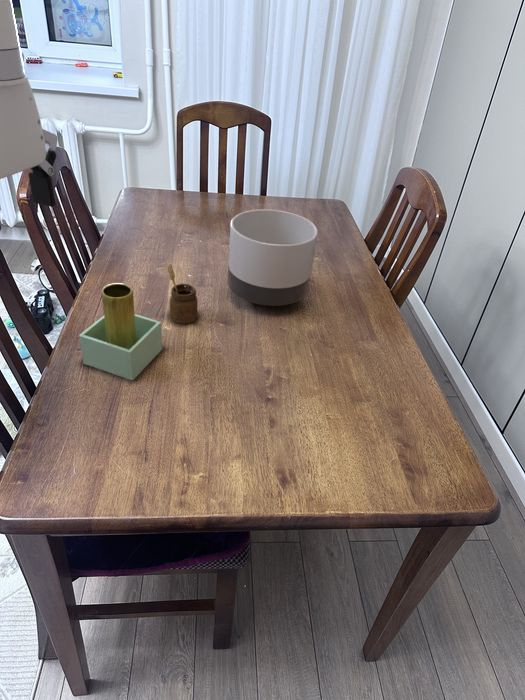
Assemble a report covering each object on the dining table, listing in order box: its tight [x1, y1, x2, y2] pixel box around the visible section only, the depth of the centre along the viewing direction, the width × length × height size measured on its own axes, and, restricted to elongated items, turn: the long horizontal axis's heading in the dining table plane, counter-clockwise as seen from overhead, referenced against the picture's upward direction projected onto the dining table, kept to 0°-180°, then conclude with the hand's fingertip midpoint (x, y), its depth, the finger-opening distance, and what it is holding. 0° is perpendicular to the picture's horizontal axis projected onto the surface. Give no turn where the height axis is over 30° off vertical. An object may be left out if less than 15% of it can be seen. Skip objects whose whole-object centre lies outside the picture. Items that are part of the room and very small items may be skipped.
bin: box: [78, 313, 163, 381], centre depth 92 cm, size 11×11×7 cm
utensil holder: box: [167, 263, 198, 325], centre depth 103 cm, size 6×6×12 cm
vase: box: [101, 282, 138, 350], centre depth 90 cm, size 6×6×14 cm
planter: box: [226, 208, 319, 307], centre depth 112 cm, size 19×19×18 cm
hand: (18, 216), depth 63 cm, fingers open, 9 cm apart
